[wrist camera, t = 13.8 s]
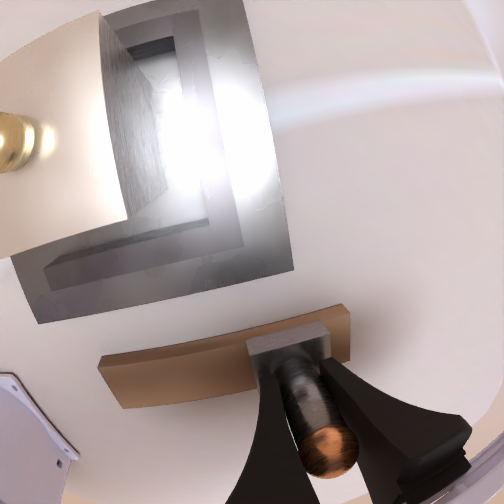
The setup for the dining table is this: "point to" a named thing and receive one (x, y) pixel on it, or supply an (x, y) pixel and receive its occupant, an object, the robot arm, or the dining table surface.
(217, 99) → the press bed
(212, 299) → the dining table surface
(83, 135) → the block
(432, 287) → the dining table surface
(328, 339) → the lever
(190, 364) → the rail
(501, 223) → the dining table surface
